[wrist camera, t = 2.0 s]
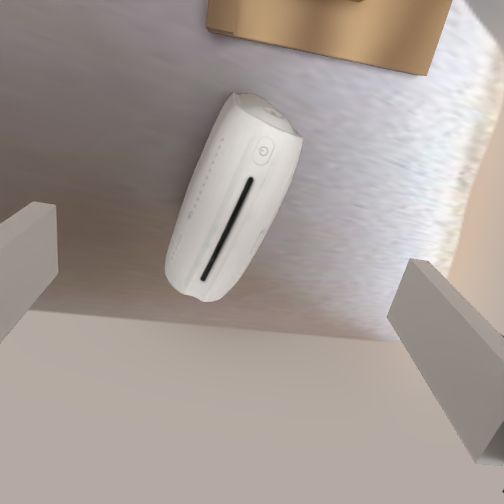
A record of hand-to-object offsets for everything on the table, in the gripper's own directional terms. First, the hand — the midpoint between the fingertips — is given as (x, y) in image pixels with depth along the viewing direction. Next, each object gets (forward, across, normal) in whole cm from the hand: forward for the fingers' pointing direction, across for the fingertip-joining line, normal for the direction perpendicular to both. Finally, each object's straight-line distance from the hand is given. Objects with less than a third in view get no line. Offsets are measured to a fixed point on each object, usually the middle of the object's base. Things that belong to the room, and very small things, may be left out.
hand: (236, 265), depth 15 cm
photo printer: (+16, 0, 0) cm, 16 cm away
